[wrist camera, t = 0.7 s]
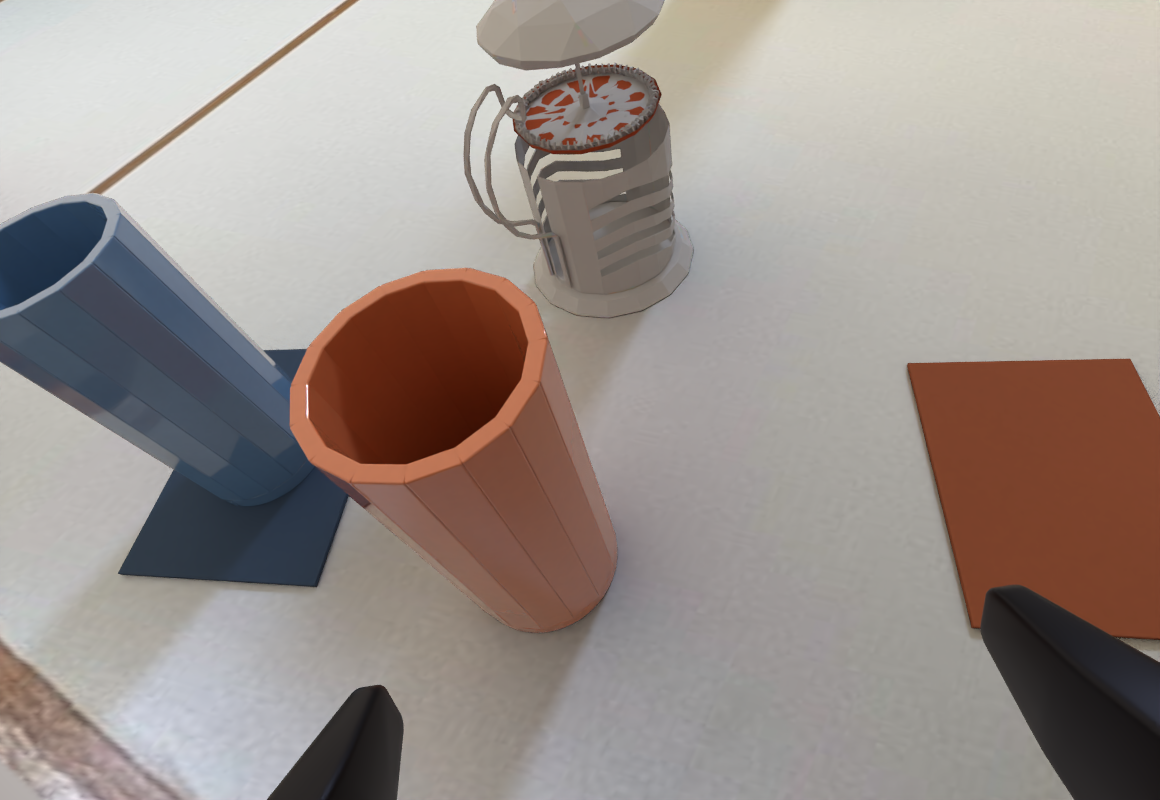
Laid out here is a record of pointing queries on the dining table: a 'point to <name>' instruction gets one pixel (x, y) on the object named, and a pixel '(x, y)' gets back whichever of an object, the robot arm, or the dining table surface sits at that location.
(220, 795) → the dining table surface
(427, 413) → the terracotta tumbler
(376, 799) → the robot arm
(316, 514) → the blue pad
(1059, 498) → the clay pad
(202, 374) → the blue tumbler
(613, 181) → the french press
